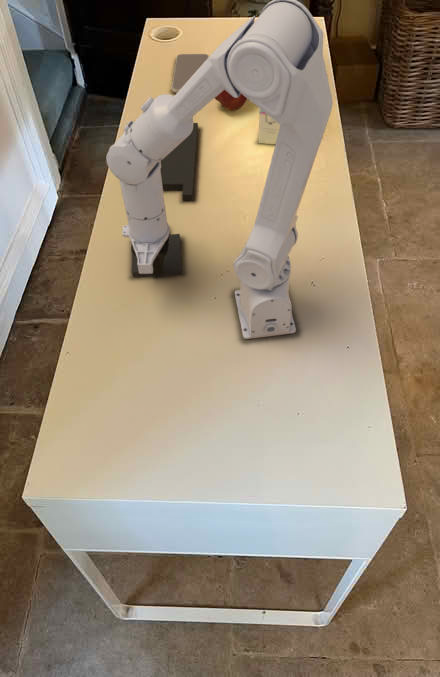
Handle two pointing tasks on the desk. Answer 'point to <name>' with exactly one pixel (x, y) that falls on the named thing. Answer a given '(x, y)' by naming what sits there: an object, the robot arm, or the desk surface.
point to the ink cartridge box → (267, 128)
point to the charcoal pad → (165, 259)
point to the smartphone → (186, 68)
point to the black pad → (181, 166)
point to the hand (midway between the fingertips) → (155, 271)
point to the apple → (231, 100)
